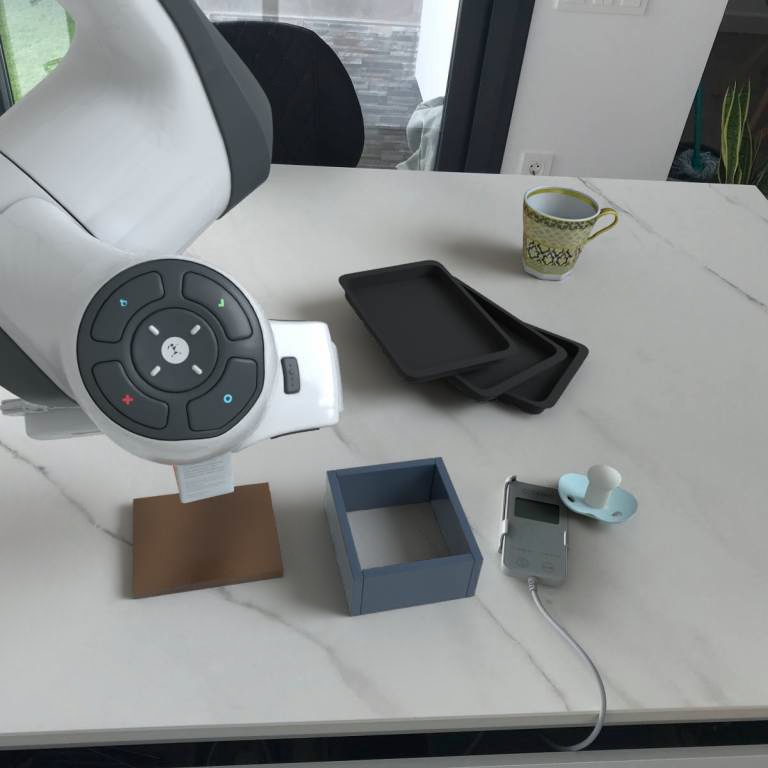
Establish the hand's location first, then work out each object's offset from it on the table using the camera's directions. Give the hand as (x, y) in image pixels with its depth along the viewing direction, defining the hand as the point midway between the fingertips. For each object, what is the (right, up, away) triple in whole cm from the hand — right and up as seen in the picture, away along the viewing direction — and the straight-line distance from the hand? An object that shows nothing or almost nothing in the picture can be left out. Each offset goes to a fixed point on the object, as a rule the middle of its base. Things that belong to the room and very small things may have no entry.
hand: (192, 403), depth 58 cm
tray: (+22, +4, +32) cm, 39 cm away
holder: (+15, -13, +10) cm, 22 cm away
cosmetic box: (0, -6, +4) cm, 7 cm away
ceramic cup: (+38, +17, +50) cm, 65 cm away
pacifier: (+34, -10, +16) cm, 39 cm away
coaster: (-1, -12, +9) cm, 15 cm away
